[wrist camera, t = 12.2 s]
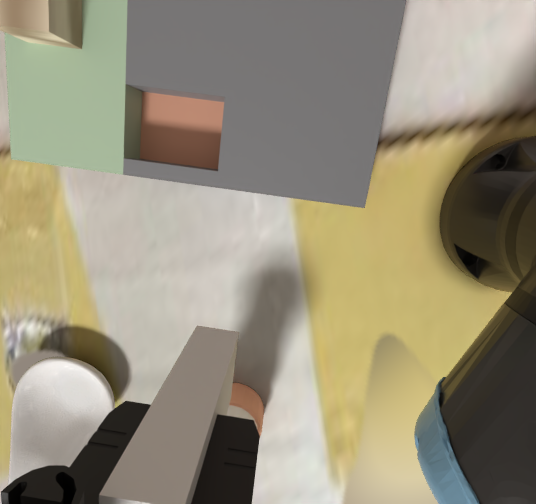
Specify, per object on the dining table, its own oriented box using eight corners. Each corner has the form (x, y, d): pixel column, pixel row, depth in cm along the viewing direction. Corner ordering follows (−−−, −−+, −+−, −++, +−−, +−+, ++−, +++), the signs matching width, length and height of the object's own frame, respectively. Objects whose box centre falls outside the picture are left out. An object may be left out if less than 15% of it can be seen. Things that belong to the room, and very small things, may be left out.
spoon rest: (48, 330, 43) (2, 362, 37) (138, 366, 44) (109, 405, 37) (9, 471, 49) (-37, 522, 43) (89, 502, 50) (56, 557, 43)
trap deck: (415, -100, 30) (433, -138, 26) (357, 203, 37) (364, 207, 33) (29, -143, 31) (-8, -185, 28) (39, 159, 38) (11, 159, 34)
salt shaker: (274, 419, 44) (261, 606, 26) (224, 440, 45) (178, 633, 27) (245, 373, 43) (209, 534, 24) (194, 396, 44) (124, 567, 26)
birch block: (81, -17, 30) (47, -46, 26) (82, 49, 31) (49, 31, 27) (24, -24, 30) (-20, -54, 26) (27, 42, 31) (-15, 23, 27)
